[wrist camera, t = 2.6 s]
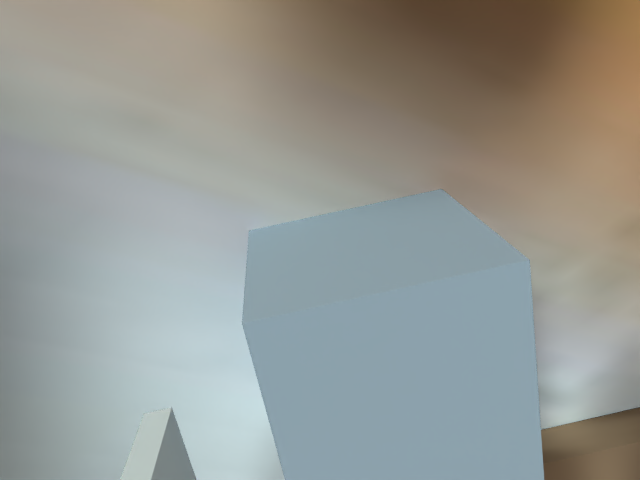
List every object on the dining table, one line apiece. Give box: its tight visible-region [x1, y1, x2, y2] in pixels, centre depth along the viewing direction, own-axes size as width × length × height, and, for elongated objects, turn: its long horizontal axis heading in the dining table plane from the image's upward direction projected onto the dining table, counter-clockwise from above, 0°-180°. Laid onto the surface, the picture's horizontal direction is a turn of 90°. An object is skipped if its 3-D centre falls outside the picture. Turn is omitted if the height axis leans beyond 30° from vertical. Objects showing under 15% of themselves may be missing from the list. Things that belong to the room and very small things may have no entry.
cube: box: [242, 189, 544, 480], centre depth 18 cm, size 7×7×7 cm
